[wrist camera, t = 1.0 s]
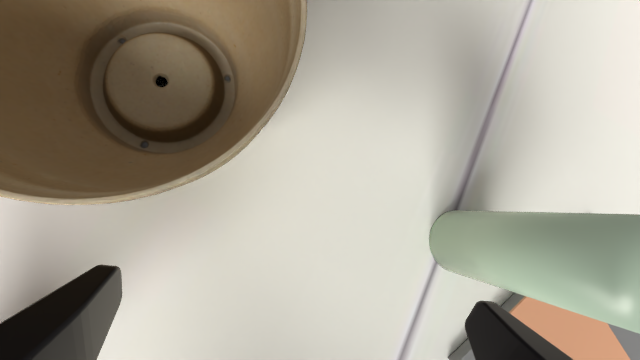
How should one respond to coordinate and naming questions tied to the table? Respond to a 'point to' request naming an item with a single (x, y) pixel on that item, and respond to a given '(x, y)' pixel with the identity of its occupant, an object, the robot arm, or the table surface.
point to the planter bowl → (136, 91)
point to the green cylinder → (549, 258)
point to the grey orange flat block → (568, 332)
